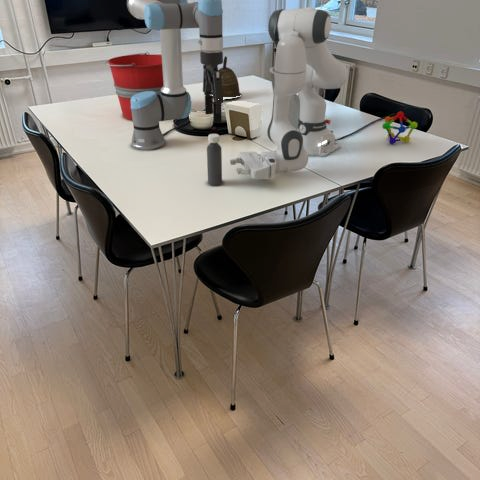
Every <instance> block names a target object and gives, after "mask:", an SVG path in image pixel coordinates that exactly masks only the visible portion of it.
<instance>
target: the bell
mask: <svg viewBox="0 0 480 480" xmlns="http://www.w3.org/2000/svg"><path fill="white" fill-rule="evenodd" d="M227 63H228V57H227V56H223V63H222V67H221V68H218V70H219V72H221V73H222V74H221V81H222V92H223V97H236V96H240V95H241V96H242V93H241V92H240V83H239V80H238V79H239V78H238V77H237V75H236V73H235V72H234V70H232V69H231V68H230V67H227Z"/></svg>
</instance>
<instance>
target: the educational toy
mask: <svg viewBox="0 0 480 480" xmlns="http://www.w3.org/2000/svg"><path fill="white" fill-rule="evenodd" d="M385 117H386V116H385ZM397 119H399V124H400V125H399V127H398V126H393V125H391V124H392V123H394V122H395V121H396V120H397ZM403 120H404V121H405V122H407V123H408V124H409V125H407V126H404V123H403ZM417 127H418V122H417V121H411V120H410V119H409V118H408V117H406V116H405V113H404V112H403V111H401V110H400V111H398V112H397V113H396V116H395V115H393V116H390V117H386V118H384V122H383V123H382V129H383V130H386V132H387V138H388V142H389V145H395V144H396V143H397V142H402V141H403V142H404V143H409V142H410V140H411V138H410V136H411V134H412V132H413V131H414V130H415V129H417ZM392 129H393V130H397V131H398V132H396V134H395V133H394V132H392ZM408 129H409V131H408V133H407V134H406V135H404V136H401V134H403V133H405V132H406V130H408ZM399 135H400V136H399Z"/></svg>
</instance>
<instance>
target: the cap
mask: <svg viewBox="0 0 480 480" xmlns="http://www.w3.org/2000/svg"><path fill="white" fill-rule="evenodd" d="M207 141H208V143H209V144H210V143H217V142H218V143H219V142H220V141H221V140H220V135H219V134H218V133H209V134H208V137H207Z"/></svg>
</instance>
